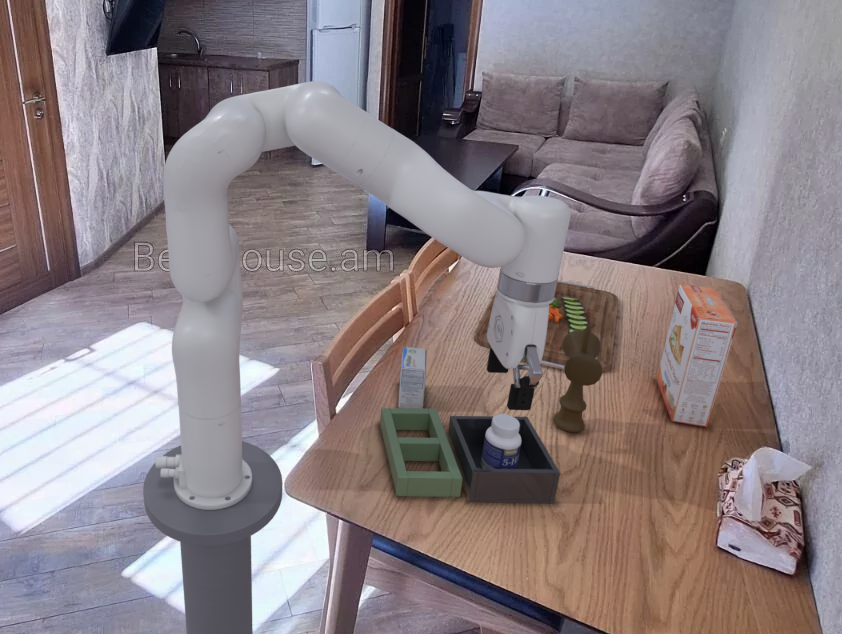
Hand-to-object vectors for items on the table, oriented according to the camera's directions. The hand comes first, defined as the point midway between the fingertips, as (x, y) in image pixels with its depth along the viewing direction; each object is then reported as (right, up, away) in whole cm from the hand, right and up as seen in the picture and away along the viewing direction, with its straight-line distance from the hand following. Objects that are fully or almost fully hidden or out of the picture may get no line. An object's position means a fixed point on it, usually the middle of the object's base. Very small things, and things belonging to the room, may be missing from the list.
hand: (507, 389), depth 96 cm
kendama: (+17, -10, +16) cm, 26 cm away
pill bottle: (+1, -14, +6) cm, 15 cm away
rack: (-11, -13, +9) cm, 19 cm away
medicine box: (-9, -7, +24) cm, 27 cm away
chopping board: (+30, +5, +53) cm, 61 cm away
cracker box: (+40, -7, +22) cm, 46 cm away
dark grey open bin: (+1, -14, +6) cm, 15 cm away
